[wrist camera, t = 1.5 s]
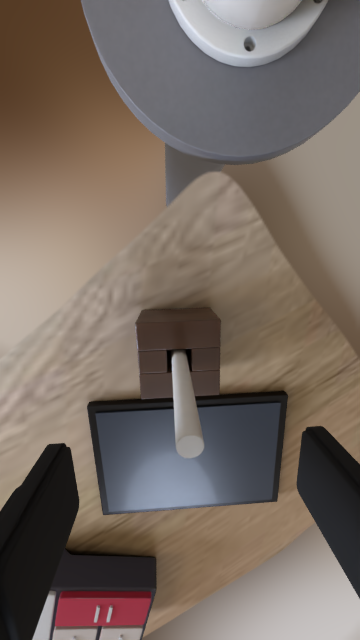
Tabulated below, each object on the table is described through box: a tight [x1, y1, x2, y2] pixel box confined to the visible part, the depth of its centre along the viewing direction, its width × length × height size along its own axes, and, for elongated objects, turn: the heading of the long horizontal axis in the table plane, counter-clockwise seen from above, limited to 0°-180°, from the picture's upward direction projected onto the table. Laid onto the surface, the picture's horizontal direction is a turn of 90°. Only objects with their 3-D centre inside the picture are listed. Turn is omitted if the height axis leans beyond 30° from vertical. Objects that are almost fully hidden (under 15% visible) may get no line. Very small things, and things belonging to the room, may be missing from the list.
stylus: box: [171, 349, 204, 458], centre depth 16 cm, size 1×1×13 cm
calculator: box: [32, 549, 156, 640], centre depth 28 cm, size 11×4×15 cm
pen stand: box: [135, 308, 221, 399], centre depth 20 cm, size 6×6×4 cm
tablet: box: [87, 391, 288, 515], centre depth 25 cm, size 14×20×1 cm
